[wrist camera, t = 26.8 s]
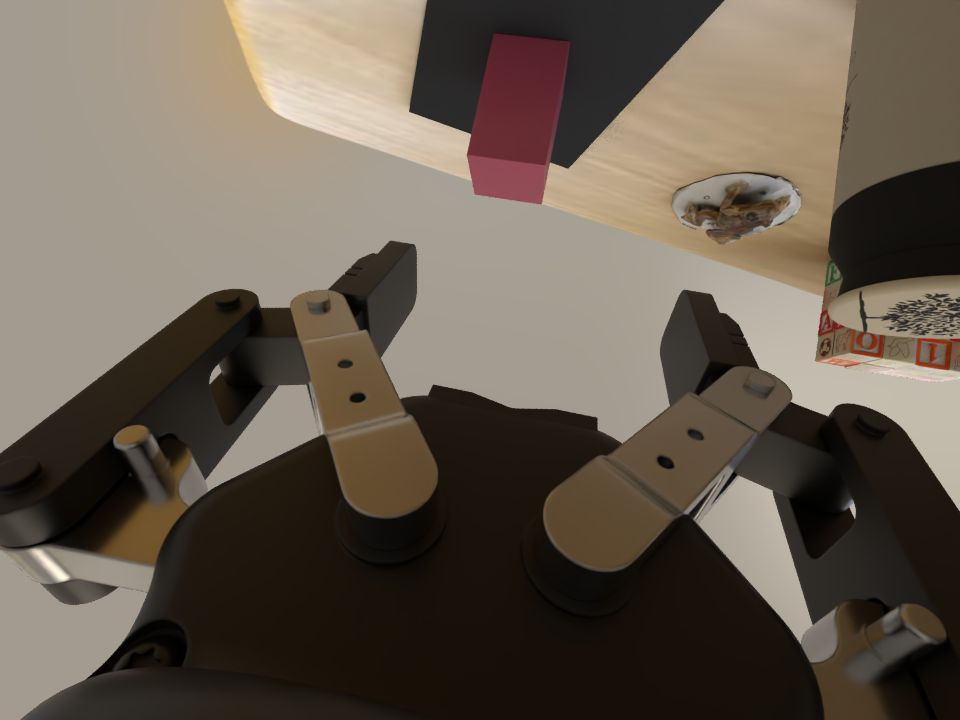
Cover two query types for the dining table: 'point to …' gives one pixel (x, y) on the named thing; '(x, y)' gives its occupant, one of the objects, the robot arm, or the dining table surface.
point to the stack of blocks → (882, 346)
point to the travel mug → (900, 173)
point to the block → (517, 117)
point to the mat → (591, 61)
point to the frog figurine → (736, 205)
